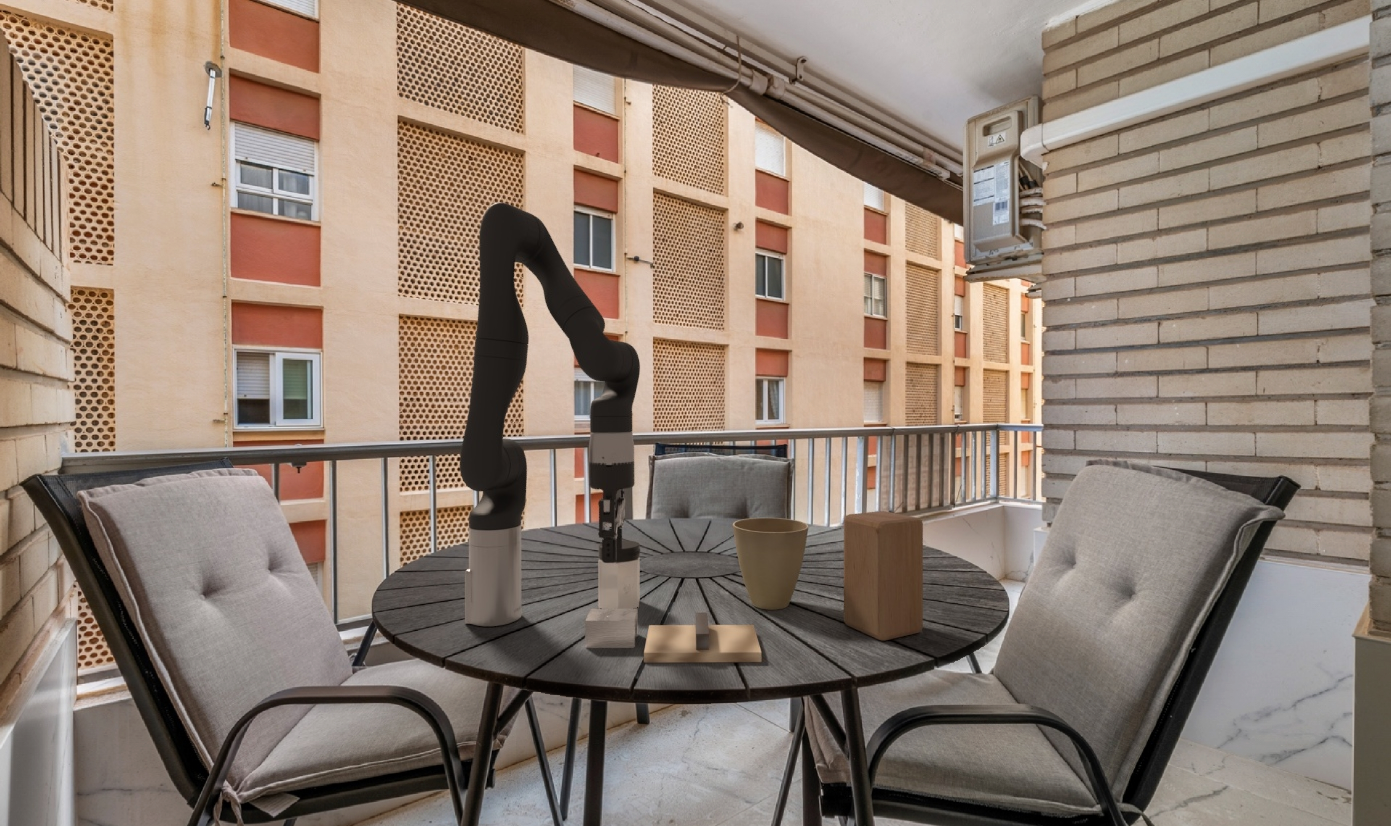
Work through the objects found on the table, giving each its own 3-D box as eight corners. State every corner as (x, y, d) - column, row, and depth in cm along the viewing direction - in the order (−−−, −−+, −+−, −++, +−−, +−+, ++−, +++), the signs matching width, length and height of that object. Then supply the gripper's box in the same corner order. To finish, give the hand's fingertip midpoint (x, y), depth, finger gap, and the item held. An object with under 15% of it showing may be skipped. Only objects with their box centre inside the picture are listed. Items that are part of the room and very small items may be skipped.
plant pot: (717, 604, 122) (717, 524, 122) (762, 588, 133) (762, 515, 133) (779, 622, 112) (779, 535, 112) (822, 603, 123) (822, 523, 123)
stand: (643, 662, 94) (643, 636, 94) (649, 633, 106) (649, 610, 106) (761, 662, 94) (761, 636, 94) (753, 633, 106) (753, 610, 106)
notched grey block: (634, 648, 100) (634, 620, 100) (585, 648, 100) (585, 620, 100) (637, 634, 106) (637, 608, 106) (591, 634, 106) (591, 608, 106)
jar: (607, 614, 116) (607, 551, 116) (590, 603, 123) (590, 543, 123) (649, 606, 121) (649, 545, 121) (630, 595, 128) (630, 538, 128)
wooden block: (882, 643, 102) (882, 523, 102) (841, 624, 111) (841, 513, 110) (925, 633, 106) (925, 518, 106) (882, 616, 115) (883, 509, 115)
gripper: (595, 456, 110) (596, 546, 110) (581, 463, 96) (582, 567, 96) (637, 456, 110) (638, 546, 110) (630, 462, 96) (631, 566, 96)
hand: (612, 556), depth 103 cm, fingers open, 8 cm apart
